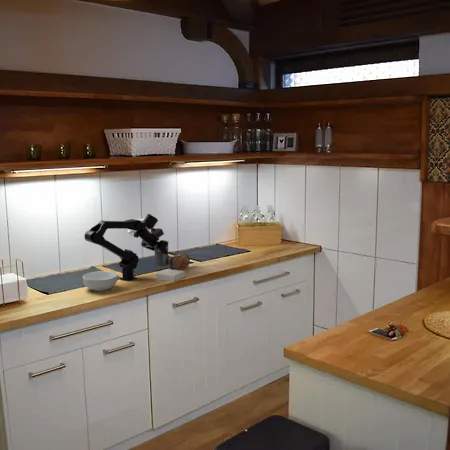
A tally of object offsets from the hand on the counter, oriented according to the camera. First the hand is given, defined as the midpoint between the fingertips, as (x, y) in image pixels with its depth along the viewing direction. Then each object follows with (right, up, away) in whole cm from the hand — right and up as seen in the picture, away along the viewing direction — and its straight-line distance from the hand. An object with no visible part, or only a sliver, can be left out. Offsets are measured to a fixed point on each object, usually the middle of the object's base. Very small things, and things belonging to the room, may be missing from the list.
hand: (163, 253), depth 304 cm
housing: (-1, -7, 0) cm, 7 cm away
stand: (+5, -13, -12) cm, 18 cm away
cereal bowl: (-28, -16, -32) cm, 45 cm away
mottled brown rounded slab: (+8, -10, +8) cm, 15 cm away
